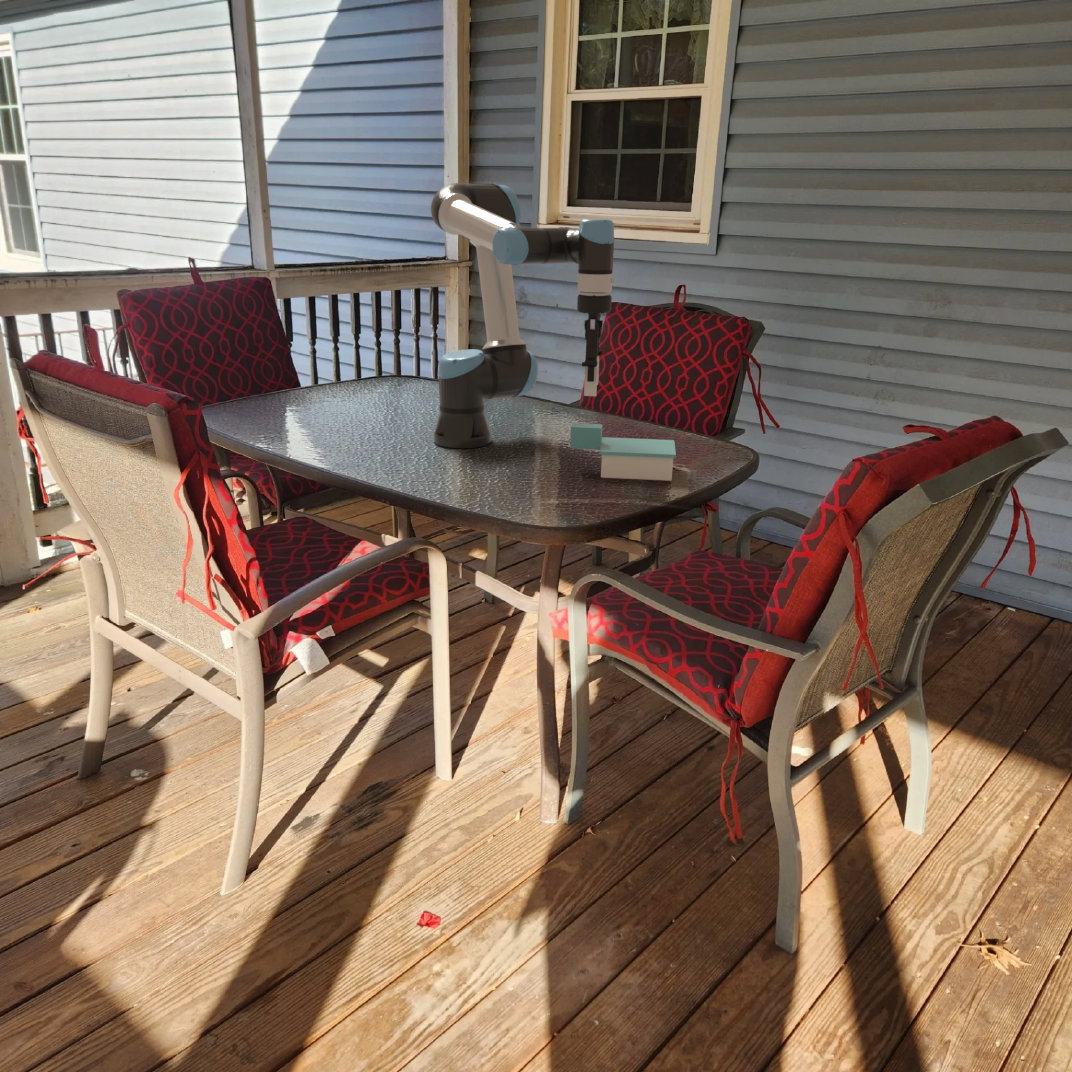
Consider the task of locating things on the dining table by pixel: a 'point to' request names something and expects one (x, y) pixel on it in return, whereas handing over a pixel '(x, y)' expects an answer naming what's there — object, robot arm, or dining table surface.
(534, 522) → the dining table surface
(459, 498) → the dining table surface
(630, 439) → the lid
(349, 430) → the dining table surface
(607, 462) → the tub
